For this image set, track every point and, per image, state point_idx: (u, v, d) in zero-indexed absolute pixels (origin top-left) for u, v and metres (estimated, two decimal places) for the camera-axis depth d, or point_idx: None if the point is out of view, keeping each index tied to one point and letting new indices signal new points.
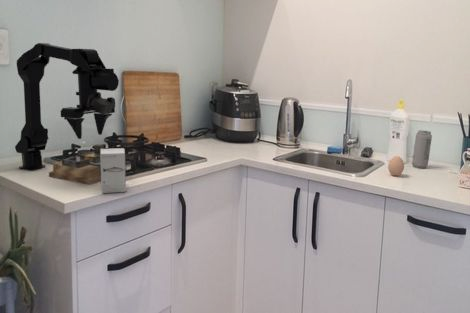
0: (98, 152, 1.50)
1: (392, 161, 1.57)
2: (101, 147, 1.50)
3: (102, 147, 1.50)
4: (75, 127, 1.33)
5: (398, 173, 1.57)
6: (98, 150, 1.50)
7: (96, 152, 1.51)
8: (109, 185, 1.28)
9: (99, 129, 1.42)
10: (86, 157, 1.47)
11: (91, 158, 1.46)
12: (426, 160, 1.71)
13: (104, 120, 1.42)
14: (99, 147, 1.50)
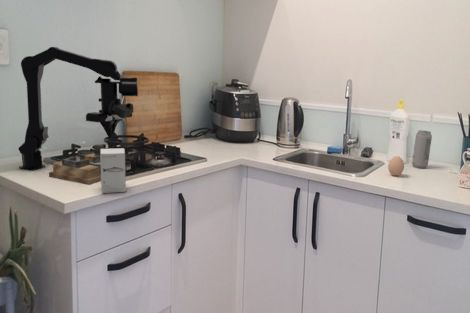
0: (98, 152, 1.50)
1: (392, 161, 1.57)
2: (101, 147, 1.50)
3: (102, 147, 1.50)
4: (106, 128, 1.54)
5: (398, 173, 1.57)
6: (98, 150, 1.50)
7: (96, 152, 1.51)
8: (109, 185, 1.28)
9: None
10: (86, 157, 1.47)
11: (91, 158, 1.46)
12: (426, 160, 1.71)
13: (115, 125, 1.55)
14: (99, 147, 1.50)
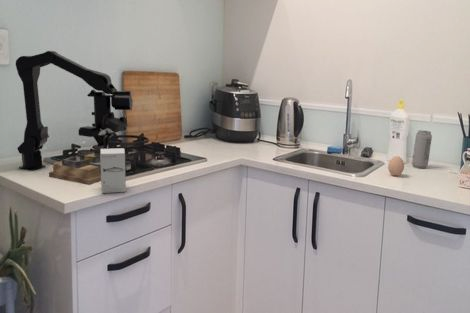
0: (98, 152, 1.50)
1: (392, 161, 1.57)
2: (101, 147, 1.50)
3: (102, 147, 1.50)
4: (99, 142, 1.52)
5: (398, 173, 1.57)
6: (98, 150, 1.50)
7: (96, 152, 1.51)
8: (109, 185, 1.28)
9: (104, 147, 1.53)
10: (86, 157, 1.47)
11: (91, 158, 1.46)
12: (426, 160, 1.71)
13: (108, 138, 1.53)
14: (99, 147, 1.49)
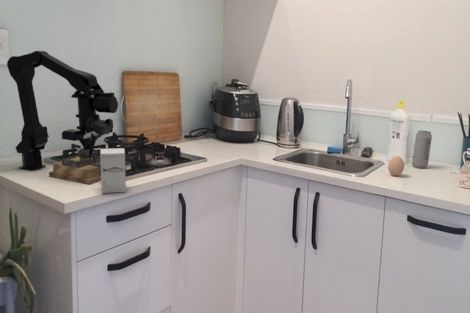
0: (83, 156, 1.44)
1: (392, 161, 1.57)
2: (86, 151, 1.43)
3: (87, 151, 1.44)
4: (85, 145, 1.45)
5: (398, 173, 1.57)
6: (83, 154, 1.44)
7: (81, 156, 1.44)
8: (109, 185, 1.28)
9: None
10: None
11: None
12: (426, 160, 1.71)
13: (94, 142, 1.46)
14: (84, 151, 1.43)
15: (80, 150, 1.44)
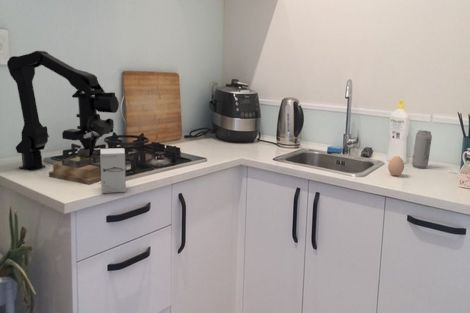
0: (83, 156, 1.44)
1: (392, 161, 1.57)
2: (86, 151, 1.43)
3: (88, 151, 1.44)
4: (85, 145, 1.45)
5: (398, 173, 1.57)
6: (83, 154, 1.44)
7: (81, 156, 1.44)
8: (109, 185, 1.28)
9: (90, 150, 1.47)
10: None
11: None
12: (426, 160, 1.71)
13: (94, 141, 1.46)
14: (84, 151, 1.43)
15: (80, 150, 1.44)
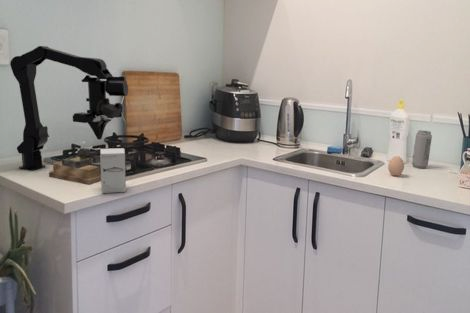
0: (83, 156, 1.44)
1: (392, 161, 1.57)
2: (87, 151, 1.43)
3: (88, 151, 1.44)
4: (95, 129, 1.48)
5: (398, 173, 1.57)
6: (83, 154, 1.44)
7: (81, 156, 1.44)
8: (109, 185, 1.28)
9: None
10: None
11: None
12: (426, 160, 1.71)
13: (103, 125, 1.49)
14: (84, 151, 1.43)
15: (80, 150, 1.44)
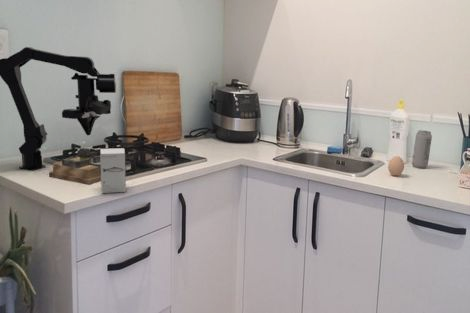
0: (83, 156, 1.44)
1: (392, 161, 1.57)
2: (87, 151, 1.43)
3: (88, 151, 1.44)
4: (84, 125, 1.53)
5: (398, 173, 1.57)
6: (83, 154, 1.44)
7: (81, 156, 1.44)
8: (109, 185, 1.28)
9: None
10: None
11: None
12: (426, 160, 1.71)
13: (92, 122, 1.54)
14: (84, 151, 1.43)
15: (80, 150, 1.44)
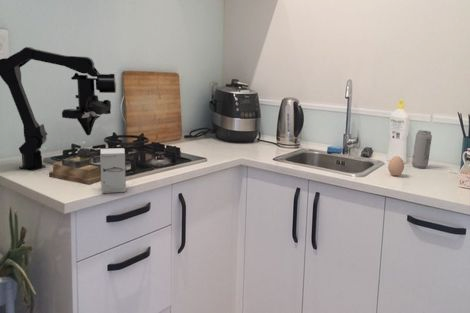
0: (83, 156, 1.44)
1: (392, 161, 1.57)
2: (87, 151, 1.43)
3: (88, 151, 1.44)
4: (84, 125, 1.53)
5: (398, 173, 1.57)
6: (83, 154, 1.44)
7: (81, 156, 1.44)
8: (109, 185, 1.28)
9: None
10: None
11: None
12: (426, 160, 1.71)
13: (92, 122, 1.54)
14: (84, 151, 1.43)
15: (80, 150, 1.44)
